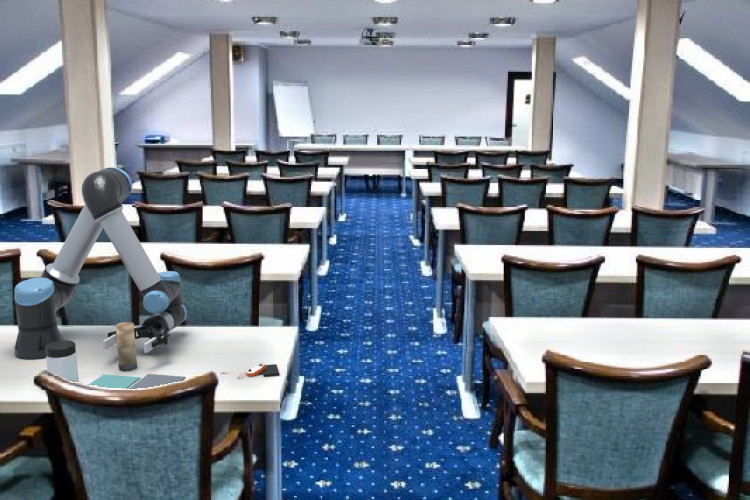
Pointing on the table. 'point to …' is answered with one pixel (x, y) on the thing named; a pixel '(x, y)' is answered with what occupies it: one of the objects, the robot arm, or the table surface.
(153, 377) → the slate seat
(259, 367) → the multimeter
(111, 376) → the teal seat
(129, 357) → the banded sleeve
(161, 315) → the robot arm
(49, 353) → the jar
